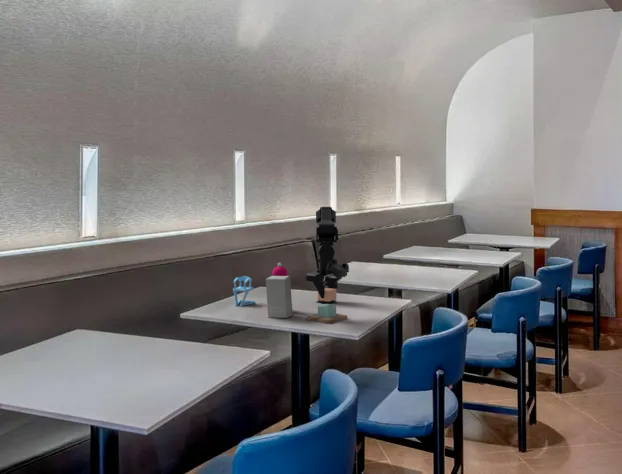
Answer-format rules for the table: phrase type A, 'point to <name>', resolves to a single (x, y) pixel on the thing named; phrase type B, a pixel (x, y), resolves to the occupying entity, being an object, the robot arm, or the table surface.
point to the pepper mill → (279, 270)
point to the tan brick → (328, 295)
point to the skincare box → (279, 296)
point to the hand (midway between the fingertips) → (326, 297)
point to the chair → (243, 289)
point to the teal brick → (327, 310)
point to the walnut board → (327, 320)
